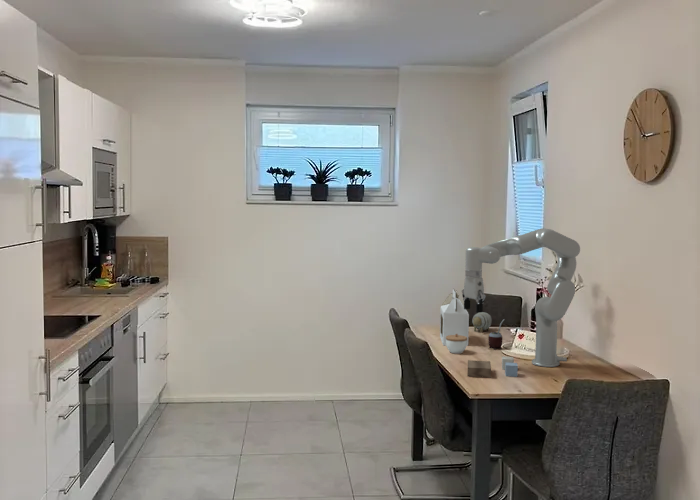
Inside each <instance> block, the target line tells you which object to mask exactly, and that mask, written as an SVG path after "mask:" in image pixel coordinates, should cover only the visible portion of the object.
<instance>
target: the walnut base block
mask: <svg viewBox="0 0 700 500" xmlns="http://www.w3.org/2000/svg"><path fill="white" fill-rule="evenodd" d="M466 374H467V376H469V377H470V378H471V377H472V378H474V377H475V378H485V379H486V378H488V379H491V378H492V367H491V361H490V360H488V361H487V360H471V359H468V360H467V373H466Z"/></svg>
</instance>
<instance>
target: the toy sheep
mask: <svg viewBox="0 0 700 500" xmlns="http://www.w3.org/2000/svg"><path fill="white" fill-rule="evenodd" d="M492 319H493V318H492V316H491V315H490V314H489V313H487V312H480V313H477V312H476V313H475V314H474V315H473V317H472V324H473V332H477V330H479V332H480V333H483V331H486V330H487V331H489V330H490V327H491V325H492V321H493V320H492Z"/></svg>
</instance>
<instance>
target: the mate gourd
mask: <svg viewBox="0 0 700 500" xmlns="http://www.w3.org/2000/svg"><path fill="white" fill-rule="evenodd" d="M505 320H506V319H505V318H504V319H502V321H500V323H499V327H498V331H497V332H495V331H492V332H490V333H489V334H488V348H489V349H493V351H494V350H497V349H498V350H502V347H503V335H502V333H501V332H500V331H501V326H502V325H503V322H504V321H505Z"/></svg>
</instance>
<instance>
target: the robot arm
mask: <svg viewBox="0 0 700 500" xmlns="http://www.w3.org/2000/svg"><path fill="white" fill-rule="evenodd" d="M541 248H547V249H549V250H550V251H553V252H554V253H555V254H556V257H557V263H556V267H555V268H554V271H553V273H552V275H551V277H550V279H549V281H548V283H547V287H546V289H547V292H548V293H549V294H550V295H551V296H544V297H540V298H539V299H538V300H537V301H536V303H535V307H534V312H535V323H536V324H535V349H534V350H535V351H534V353H535V354H534V355H535V356H534V358H532V360H531V364H533V365H535V366H539V367H545V368H554V367H558V366H560V364H561V363H560V362H567V361H568V359H567V358H568V357H565V356H559V355H558V354H557V345H558V341H557V340H558V322H559V321H560V320H561V319H563V317H565V315H566V314H567V311H568V310H569V307H570V305H571V304H572V301H573V299H574V297H575V293H576V286H575V284H574V282H573V281H572V279H573V277H574V275H575V272H576V269H577V258H576V257H578V256H579V254H580V252H581V246H580V244H579V243H578V241H576V240H574V239H572V238H570V237H568V236H566V235H564V234H561V233H560V232H558V231H555V230H553V229H550V228H545V227H544V228H537V229H536V230H535V229H534V230H533V231H532V230H531V231H529V232H526V233H523V234H520V235H517V236H513V237H509V238H507V239H502V240H499V241H495V242H492V243H489V244H486V245H484V246H482V247H473V246H472V247H467V248H465V266H464V267H465V270H464V271H465V275H464V276H465V277H464V284H463V289H462V290H461V294H462V298H463V299H462V300H463V306H464V309H466V310H470V309H471V300H470V299H472V300H475V302H476V307H475V312H476V314H477V313H480V312H483V309H484V308H483V307H484V306H483V304H484V303H485V300H486V294H485V289H484V288H485V287H484V286H485V285H484V284H485V283H484V279H483V263H484V264H491V265H492V264H497V262H499V261H500V259H501V257H505V256H518V255H523V254H526V253H529V252H531V251H534V250H537V249H541Z"/></svg>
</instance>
